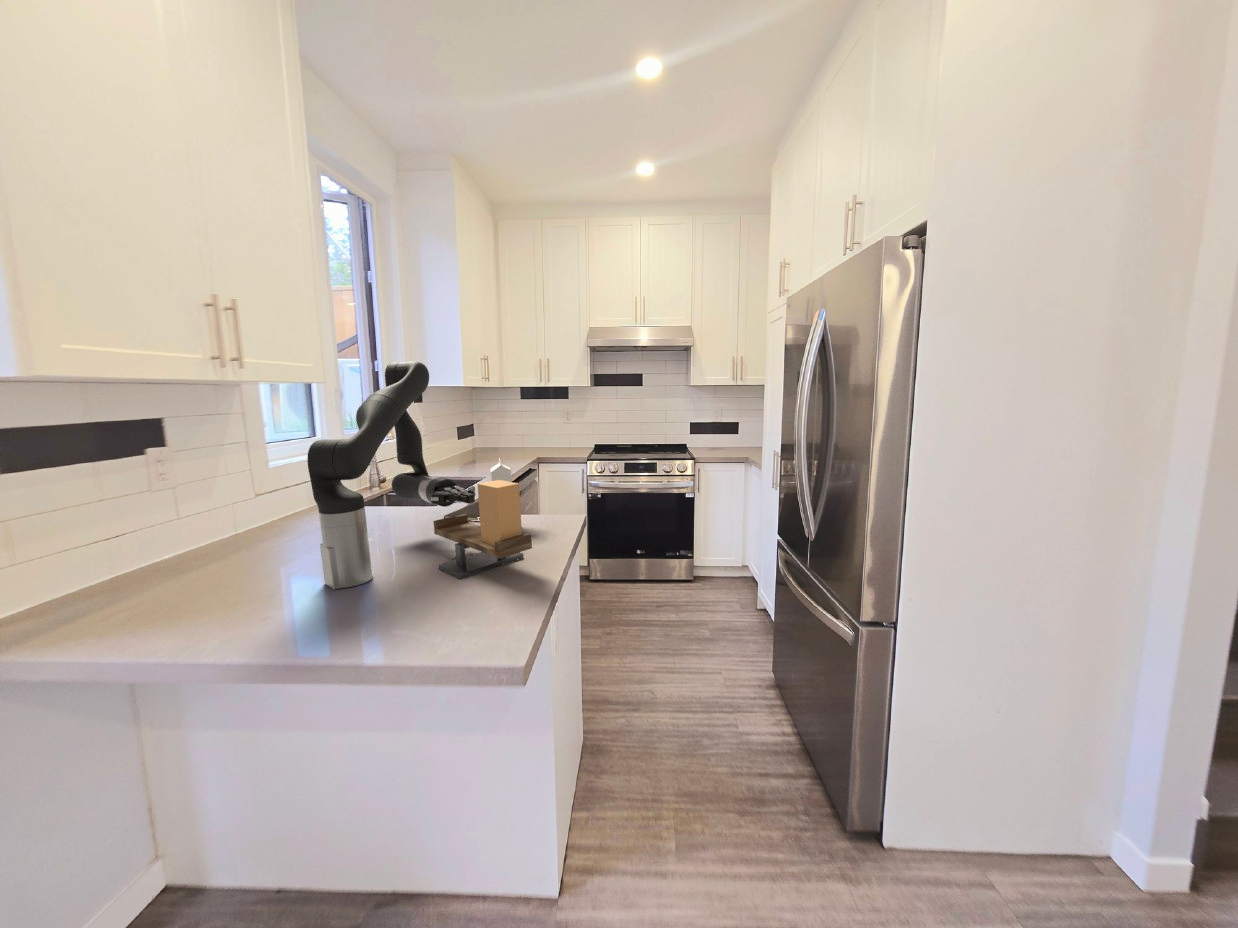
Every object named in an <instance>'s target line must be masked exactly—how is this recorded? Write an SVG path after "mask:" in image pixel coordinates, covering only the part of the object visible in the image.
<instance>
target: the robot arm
mask: <svg viewBox="0 0 1238 928" xmlns="http://www.w3.org/2000/svg"><path fill="white" fill-rule="evenodd" d="M385 367H386V368H385V371H384V382H385V387H383V388H381V389H379V390H376V391H374V392H373V393H372V394H370V395H369V396H368V397H367V398H366V399H365V400H364V401H363V402H362V403H361V405H359V406H358V409H357V410H356V414H355V420H356V425H357V428H358V431H357V432H356V434H354V435H352V437H349V438H337V439H335V438H333V439H319V440H315V441H313V442H312V444H311V445H310V446H309V448H308V452H307V459H306V461H307V468H308V469H307V470H308V476H309V479H310V485H311V490H312V497H313V499H314V501H315V503H316V505H317V508H318V509H317V510H318V516H319V523H320V532H321V541H322V543H321V542H320V545H319V547H320V554H321V555H320V556H321V563H322V570H323V578H324V579H323V580H324V584H325V585H326V586H327V587H329V588H331V589H332V590H337V589H345V588H352V587H355V586H360V585H362V584H365V583H368V582H369V581H370V580H371V579H373V569H372V561H371V559H372V558H371V552H370V541H369V533H368V525H367V524H368V523H367V518H366V517H367V514H366V505H365V499H364V495H362V493H359V492H357V491H354V490H352V489H349V488H348V487H346V486H345V485H344V484H343V483H342V481H352V480H355V479H358V478H360V477H361V476H363V475H364V474H365V472H366V471H367V470H368V468H369V466H370V464H371V462H372V461H373V459H374V457H375V455H376V453H377V451H378V449H379V448H380V446H381V444H382V443H383V442H384V440H385V439H386V437H387V436H388V434H389V433H390V432H391V431H392V430H393V428H394V431H395V432H394V433H395V441H396V444H395V445H396V456H397V457H396V458H397V463H398V464H400V465H405V466H409V467H411V468H412V470H413V471H414V472H403V473H398V474H396V475H395V476H394V477H393V479H392V481H391V489H392V491H393V493H394V494H395V495H396V496H397V497H399V498H400V499H401V498H402V499H417V500H418V499H419V500H422V501H425V502H427V503H429V504H431V505H436V506H439V507H449V506H450V507H451V505H454V504H457V503H458V504H461V503H464V504H468V505H471V504H474V503H475V500H476V499H475V497H476V486H474V485H472V486H470V487H468V488H467V489H466V488H465V487H460V486H459V485H458V484H457V483H456V482H455V481H454V480H452V479H451V478H446V477H440V476H431V475H430V474H429V472H428V470H427V466H426V463H425V460H424V455H423V439H422V438H423V437H422V433H421V431H420V429H419V427H418V426H417V424H416V422H415V420H413V418H412V417H411V416H410V413H409V412H408V410H407V409H409V407H410V406H411V405H412V404H413V402H415V401H416V400H417V399H418V398H420V396H421V395H423V393H424V392H425V391H426V389H427V387H428V385H429V384H430V383H429V382H430V372H429V370H428V367H427V365H425V364H424V363H422V362H420V361H415V360H413V361H396V362H394V361H393V362H389V363H388V364H387V365H386V366H385Z"/></svg>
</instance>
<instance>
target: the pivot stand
mask: <svg viewBox="0 0 1238 928" xmlns="http://www.w3.org/2000/svg"><path fill="white" fill-rule="evenodd" d="M454 549H455V551H454V553H455V559H453V560H450V561H447V562H444V563H443V562H442V563H440V564H438V570H439V571H442V572H444V573H446V574H448V575H450V576H452V577H455V578H457V579H459V580H461V579H465V578H467V577H471V576H473V575H476V574H480V573H482V572H483V573H484V572H485V571H489V570H492V569H496V568H498V567H501V566H504V565H508V564H510V563H512V561H513V562H516V561H518V560H517V559H519V560H522V559H524V553H522V552H519V553H516V554H512V555H509V556H506V557H503V558H500V559H499V558H497V557H494V556H491V555H489V554H486V553H484V552H481V551H479V552H477V553H473V554H470V555H467V556H466V549H465V545H464V544H461V543H457V542H456V543H454ZM503 564H504V565H503Z"/></svg>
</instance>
